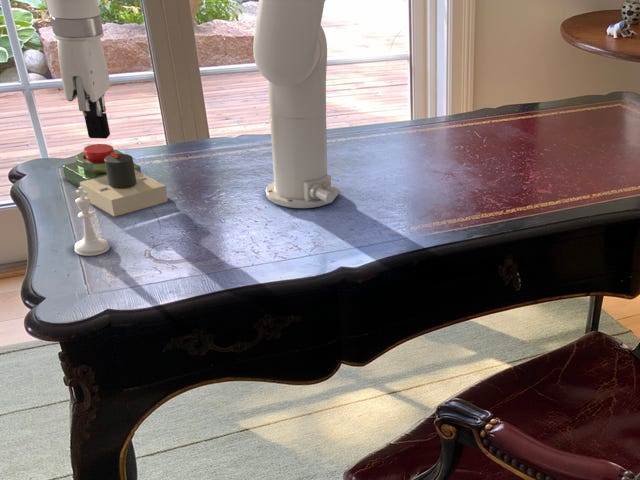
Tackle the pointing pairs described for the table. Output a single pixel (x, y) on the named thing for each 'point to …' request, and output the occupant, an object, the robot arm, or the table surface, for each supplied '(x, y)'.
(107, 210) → the panel
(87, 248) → the chess piece
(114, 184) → the knob
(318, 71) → the robot arm
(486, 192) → the table surface
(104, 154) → the power button
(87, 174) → the switch box
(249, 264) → the table surface
